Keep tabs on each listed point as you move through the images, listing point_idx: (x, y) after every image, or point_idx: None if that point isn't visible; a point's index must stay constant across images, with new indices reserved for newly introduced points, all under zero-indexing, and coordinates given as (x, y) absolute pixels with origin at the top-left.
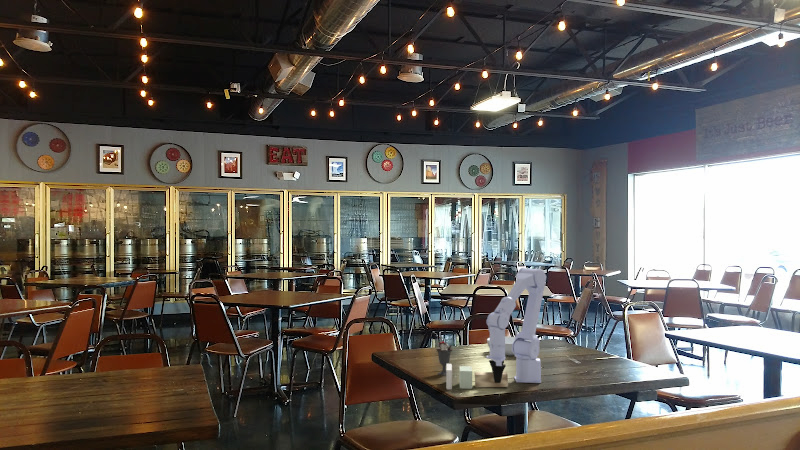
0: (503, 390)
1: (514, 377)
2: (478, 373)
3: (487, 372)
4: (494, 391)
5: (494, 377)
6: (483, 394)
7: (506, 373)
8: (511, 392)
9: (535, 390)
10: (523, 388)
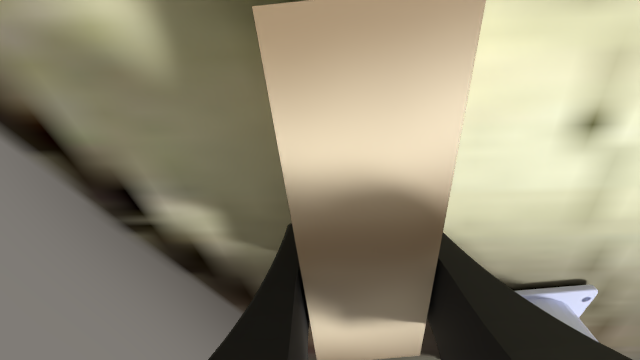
0: (260, 239)
1: (572, 290)
2: (380, 78)
3: (427, 212)
4: (206, 189)
5: (275, 262)
6: (48, 107)
7: (351, 358)
8: (228, 275)
9: (310, 348)
10: None
